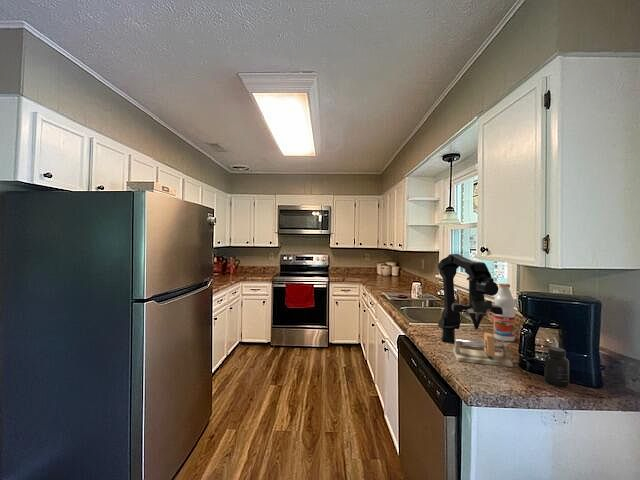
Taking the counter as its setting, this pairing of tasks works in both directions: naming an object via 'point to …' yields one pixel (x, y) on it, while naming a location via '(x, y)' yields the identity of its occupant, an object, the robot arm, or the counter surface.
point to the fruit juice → (504, 315)
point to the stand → (482, 356)
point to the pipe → (479, 344)
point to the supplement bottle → (556, 367)
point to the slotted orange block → (489, 344)
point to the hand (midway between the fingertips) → (476, 328)
